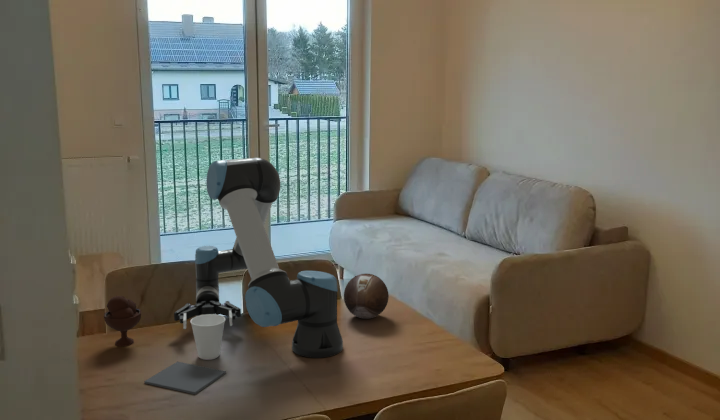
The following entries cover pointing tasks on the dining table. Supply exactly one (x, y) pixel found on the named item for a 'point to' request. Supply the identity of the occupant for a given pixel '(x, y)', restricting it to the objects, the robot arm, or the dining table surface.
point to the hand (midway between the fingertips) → (207, 323)
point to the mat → (185, 377)
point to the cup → (208, 335)
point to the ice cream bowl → (122, 317)
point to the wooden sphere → (366, 296)
